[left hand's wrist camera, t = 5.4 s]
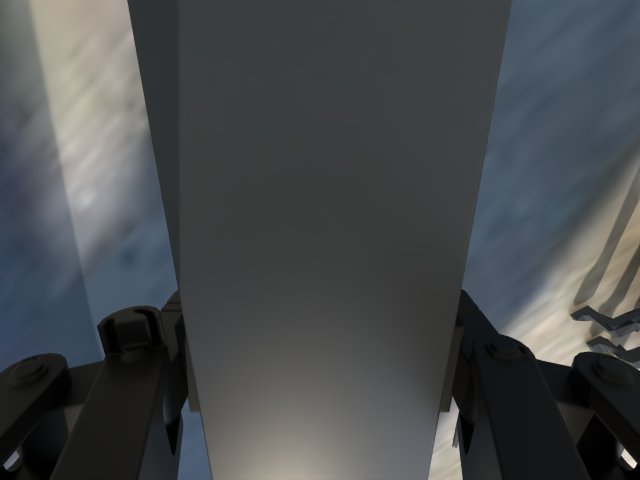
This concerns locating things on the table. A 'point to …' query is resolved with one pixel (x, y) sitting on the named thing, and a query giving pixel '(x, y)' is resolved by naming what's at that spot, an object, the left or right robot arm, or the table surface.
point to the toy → (613, 332)
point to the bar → (319, 217)
